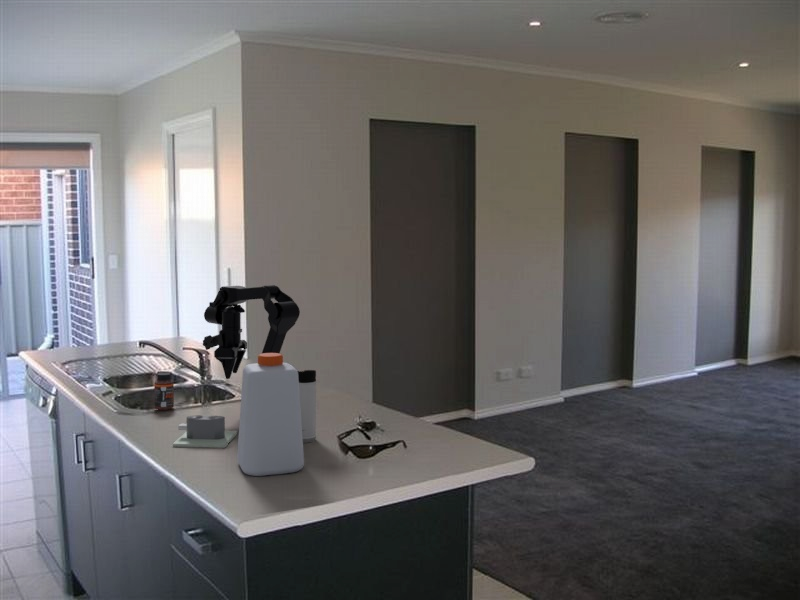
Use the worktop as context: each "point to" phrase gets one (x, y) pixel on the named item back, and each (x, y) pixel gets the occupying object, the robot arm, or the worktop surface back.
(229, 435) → the sage board
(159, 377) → the supplement bottle
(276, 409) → the plastic bottle
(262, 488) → the worktop surface
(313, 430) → the travel mug
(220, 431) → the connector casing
